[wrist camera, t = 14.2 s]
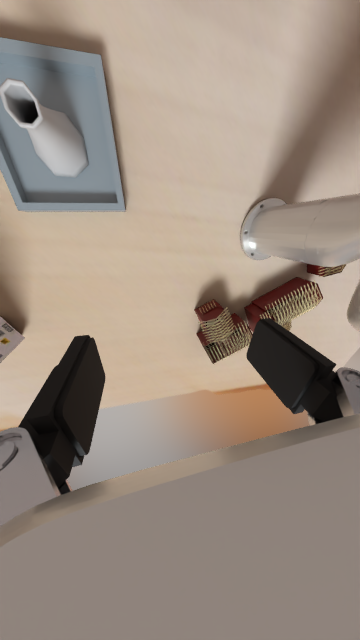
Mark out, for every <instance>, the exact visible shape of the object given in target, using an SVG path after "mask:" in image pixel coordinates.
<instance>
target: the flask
mask: <svg viewBox="0 0 360 640" xmlns="http://www.w3.org/2000/svg"><path fill="white" fill-rule="evenodd" d="M0 96H1V99H2V102H3V105H4V107H5V110H6V111H7V112H8V113H9V114H10V116H11V117H12V118H13V119H14V120H15V121H16V123H17V124H18V125H19V126H20V127H21V128H26V129H27V131H28V133H29V135H30V138H31V140H32V143H33V146H34V149H35V152H36V154H37V155H38V157H39V158H40V159H41V160H42V161H43V162H44V163H45V165H46V166H47V167H48V168H49V169H50V170H51V171H52V172H53V174H54V175H55V176H62V177H74V178H76V177H77V176H78V175H79V174H80V173H81V172H82V171H83V170H84V169H85V168H86V167H87V166H88V165H89V163H88V158H87V153H86V148H85V143H84V139H83V137H82V136H81V134H80V133H79V132H78V130H77V129H76V127H75V126H74V125H73V123H72V122H71V120H70V119H69V118H68V116H67V115H66V114H65V113H62V112H58V111H54V110H52V109H49V108H46V107H43V106H42V105H41V104H39V101H38V99H37V98H36V97H35V96H34V94H33V93H32V92H31V90H30V89H29V88H28V86H27V85H26V84H25V82H24V81H21V80H16V79H10V78H6V80H5V81H4V82H3V83H2V84H1V86H0Z"/></svg>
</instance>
